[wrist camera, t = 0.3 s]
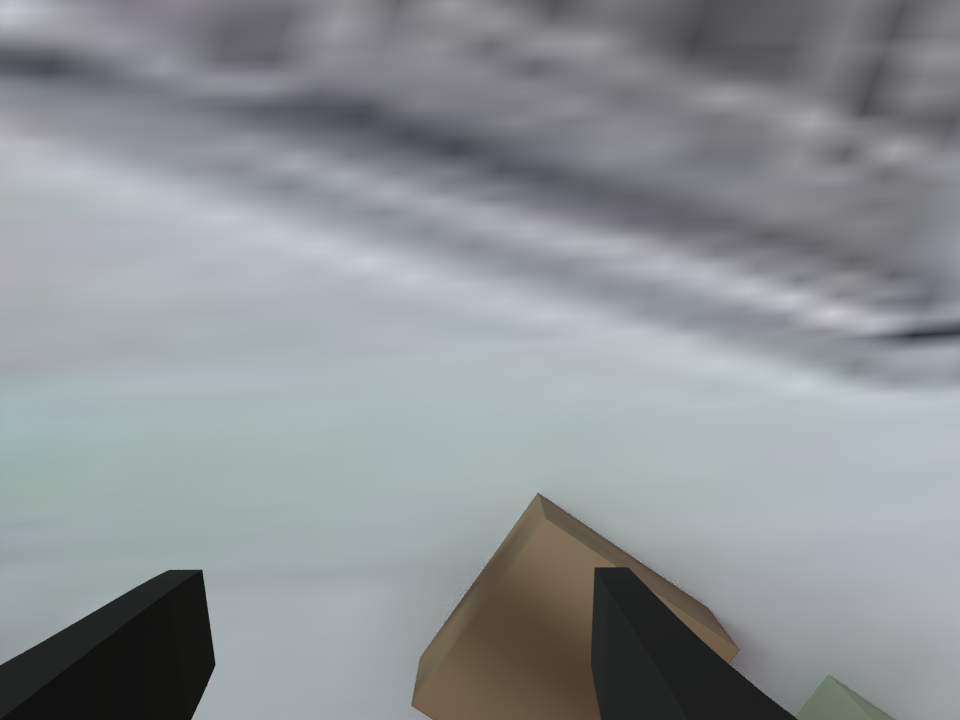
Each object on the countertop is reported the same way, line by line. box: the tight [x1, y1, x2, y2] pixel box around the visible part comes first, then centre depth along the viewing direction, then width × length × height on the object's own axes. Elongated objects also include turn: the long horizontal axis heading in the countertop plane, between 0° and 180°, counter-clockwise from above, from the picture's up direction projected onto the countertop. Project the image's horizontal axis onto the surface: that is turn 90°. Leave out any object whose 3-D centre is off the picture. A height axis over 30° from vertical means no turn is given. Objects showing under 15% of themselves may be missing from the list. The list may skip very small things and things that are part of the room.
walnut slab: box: [411, 493, 740, 720], centre depth 20 cm, size 8×8×3 cm
